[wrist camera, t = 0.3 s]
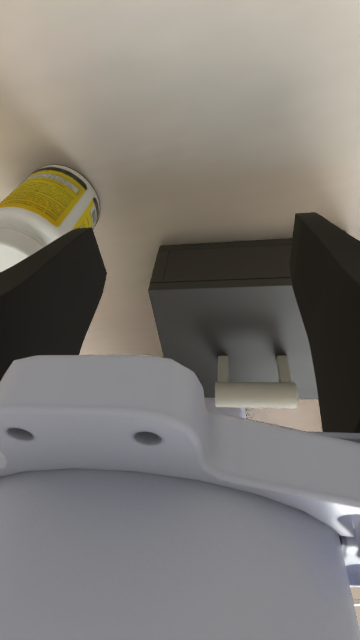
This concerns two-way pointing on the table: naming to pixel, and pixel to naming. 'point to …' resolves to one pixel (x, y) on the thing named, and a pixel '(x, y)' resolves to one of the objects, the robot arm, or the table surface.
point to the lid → (237, 340)
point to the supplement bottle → (44, 212)
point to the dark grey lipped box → (223, 261)
